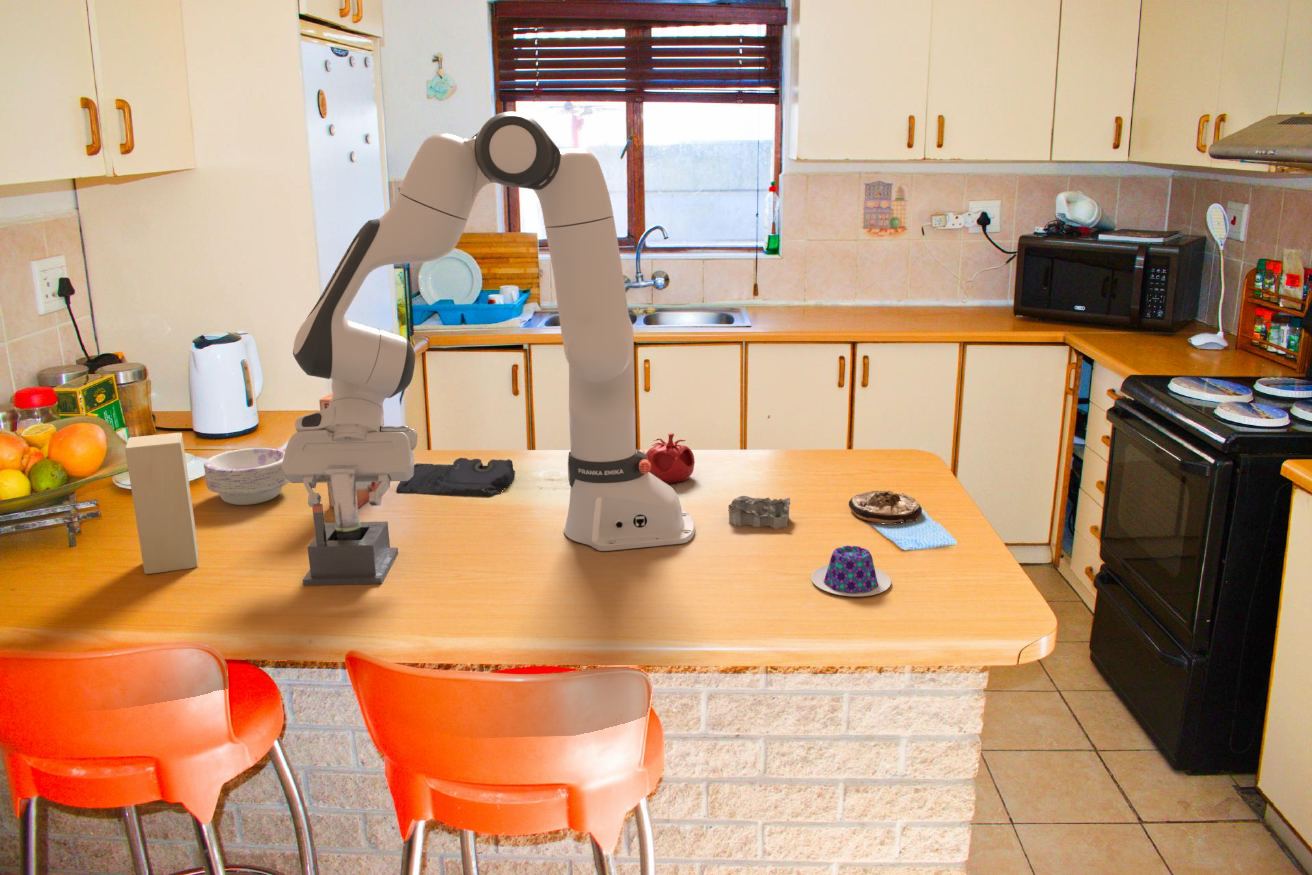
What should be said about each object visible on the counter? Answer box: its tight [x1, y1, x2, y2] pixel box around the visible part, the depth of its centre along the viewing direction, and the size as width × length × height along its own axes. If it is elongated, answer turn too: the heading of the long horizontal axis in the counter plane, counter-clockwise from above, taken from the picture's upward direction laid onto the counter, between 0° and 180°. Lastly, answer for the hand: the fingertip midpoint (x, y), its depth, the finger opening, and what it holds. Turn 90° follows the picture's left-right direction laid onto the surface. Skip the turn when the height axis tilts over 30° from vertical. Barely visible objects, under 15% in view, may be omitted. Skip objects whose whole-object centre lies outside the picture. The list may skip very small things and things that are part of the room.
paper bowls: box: [203, 447, 291, 506], centre depth 199 cm, size 15×15×8 cm
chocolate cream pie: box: [848, 490, 923, 524], centre depth 187 cm, size 15×15×4 cm
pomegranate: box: [645, 432, 696, 484], centre depth 206 cm, size 10×10×9 cm
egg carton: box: [728, 495, 791, 530], centre depth 184 cm, size 11×8×4 cm
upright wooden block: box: [125, 432, 200, 575], centre depth 167 cm, size 8×7×21 cm
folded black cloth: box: [396, 457, 516, 498], centre depth 206 cm, size 15×22×5 cm
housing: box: [302, 503, 399, 586], centre depth 165 cm, size 12×12×12 cm
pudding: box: [810, 545, 892, 597], centre depth 159 cm, size 12×12×5 cm
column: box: [326, 465, 361, 541], centre depth 164 cm, size 4×4×16 cm
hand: (344, 504), depth 163 cm, fingers open, 8 cm apart
